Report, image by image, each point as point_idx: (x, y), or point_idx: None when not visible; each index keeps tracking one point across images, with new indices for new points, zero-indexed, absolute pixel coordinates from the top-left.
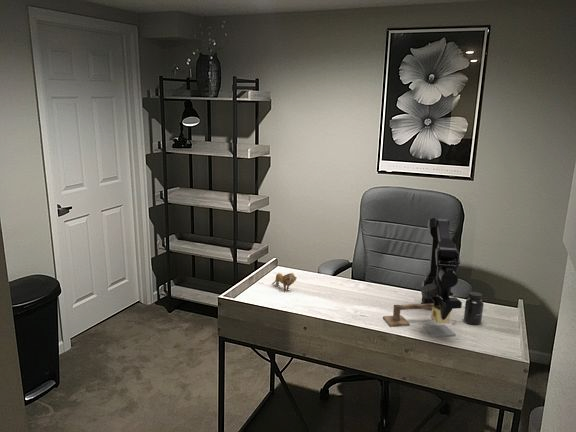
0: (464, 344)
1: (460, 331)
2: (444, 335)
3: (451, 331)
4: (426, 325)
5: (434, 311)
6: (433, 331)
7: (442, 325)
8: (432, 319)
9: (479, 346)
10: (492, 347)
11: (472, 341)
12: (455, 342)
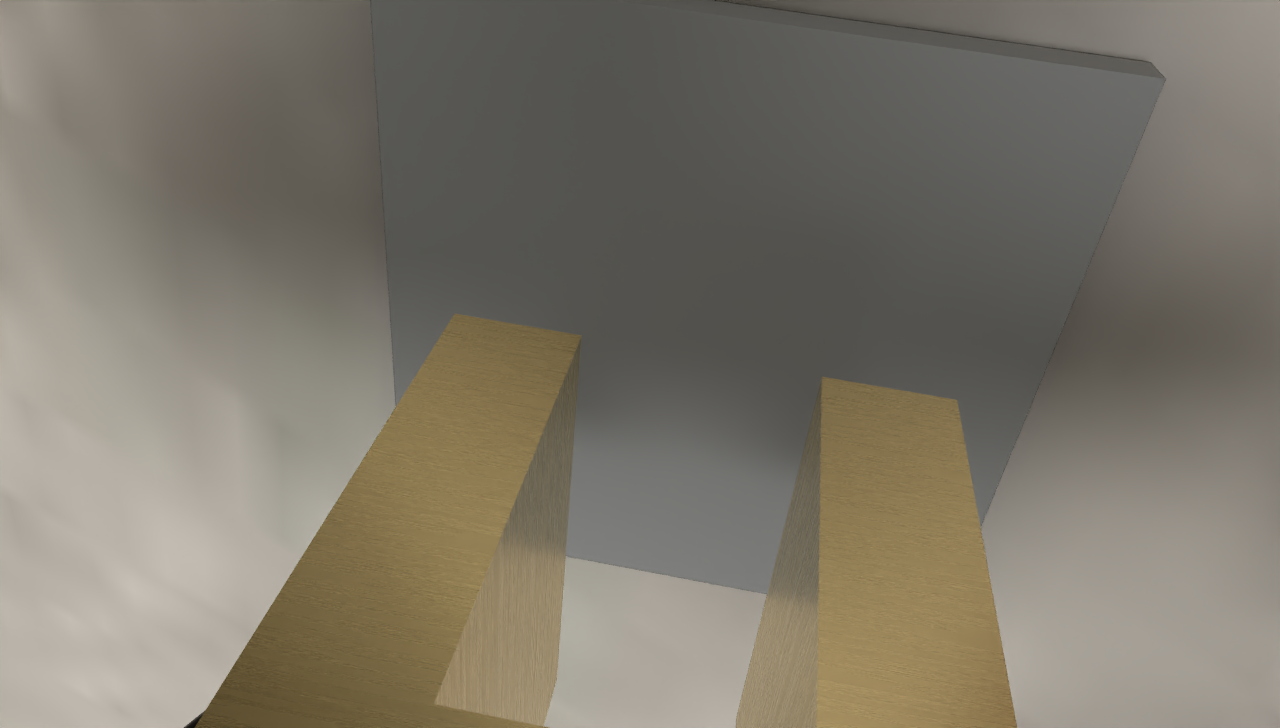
0: (56, 426)
1: (604, 682)
2: (391, 288)
3: None
4: (1111, 193)
5: (796, 726)
6: (650, 146)
7: None
8: (827, 378)
9: (19, 584)
10: (20, 701)
11: (197, 606)
12: (124, 325)
